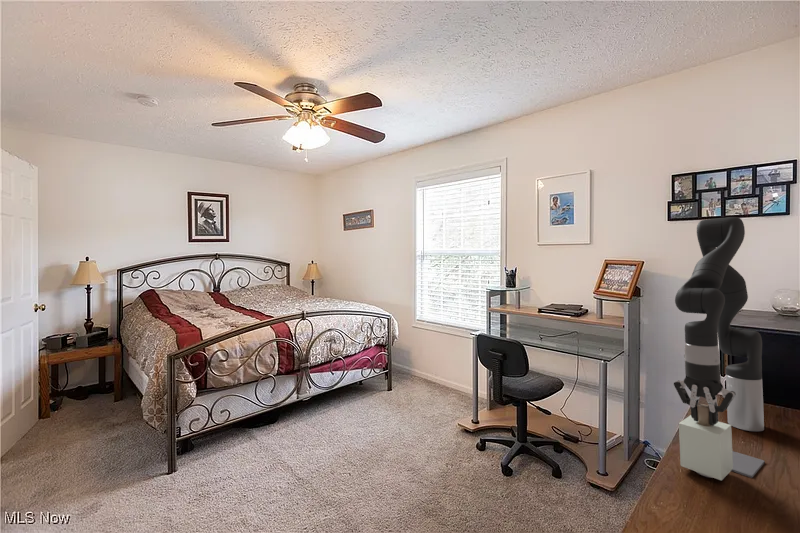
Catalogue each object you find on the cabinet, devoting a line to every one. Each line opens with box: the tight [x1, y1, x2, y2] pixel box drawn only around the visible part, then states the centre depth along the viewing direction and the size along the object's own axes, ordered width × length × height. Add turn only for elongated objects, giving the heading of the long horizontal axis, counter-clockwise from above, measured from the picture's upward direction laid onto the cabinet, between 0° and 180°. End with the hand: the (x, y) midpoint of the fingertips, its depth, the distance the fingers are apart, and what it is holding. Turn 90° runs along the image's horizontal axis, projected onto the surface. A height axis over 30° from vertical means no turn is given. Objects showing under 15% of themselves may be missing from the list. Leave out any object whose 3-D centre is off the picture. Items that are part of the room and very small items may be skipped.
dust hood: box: [678, 403, 733, 481], centre depth 103 cm, size 9×9×17 cm
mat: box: [730, 450, 765, 479], centre depth 108 cm, size 12×12×1 cm
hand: (704, 422), depth 103 cm, fingers closed on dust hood, 3 cm apart
